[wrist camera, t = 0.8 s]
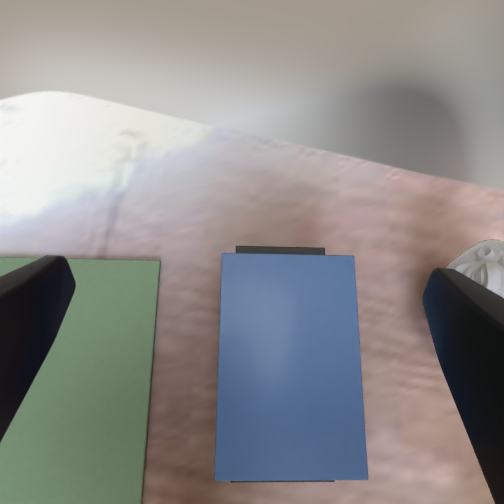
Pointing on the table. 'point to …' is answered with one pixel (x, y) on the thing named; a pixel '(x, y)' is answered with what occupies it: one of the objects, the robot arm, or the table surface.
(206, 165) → the table surface
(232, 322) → the blue book
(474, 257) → the frog figurine
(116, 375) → the green mat
